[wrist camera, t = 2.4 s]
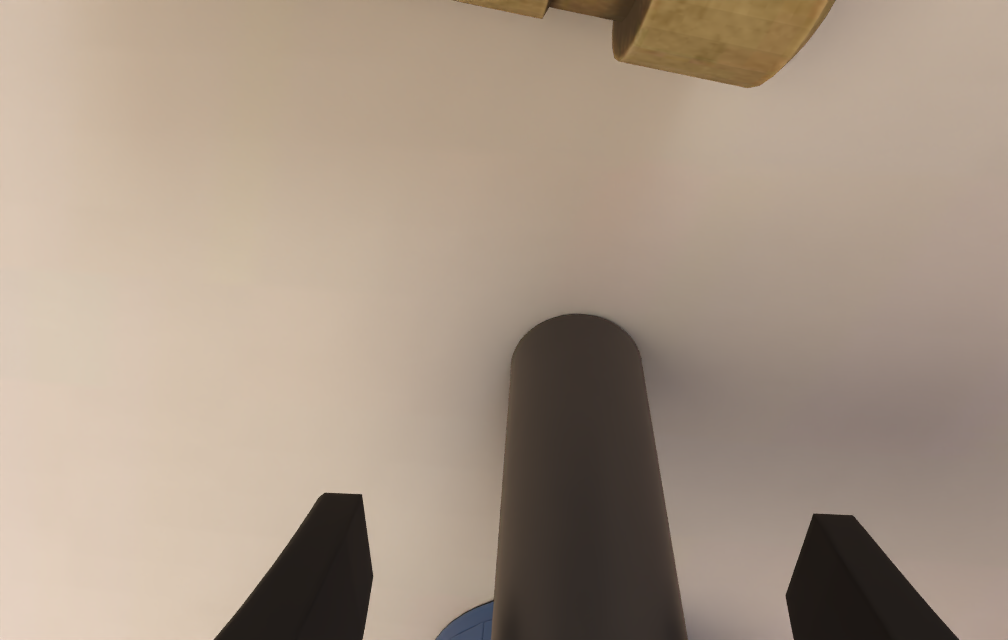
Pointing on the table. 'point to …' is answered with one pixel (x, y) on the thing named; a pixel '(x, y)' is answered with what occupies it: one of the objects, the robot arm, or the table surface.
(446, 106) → the table surface
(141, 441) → the table surface
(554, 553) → the marker
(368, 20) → the table surface
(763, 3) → the gavel
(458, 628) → the blue cylindrical cup
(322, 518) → the robot arm
